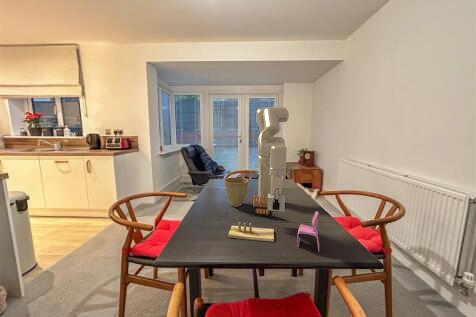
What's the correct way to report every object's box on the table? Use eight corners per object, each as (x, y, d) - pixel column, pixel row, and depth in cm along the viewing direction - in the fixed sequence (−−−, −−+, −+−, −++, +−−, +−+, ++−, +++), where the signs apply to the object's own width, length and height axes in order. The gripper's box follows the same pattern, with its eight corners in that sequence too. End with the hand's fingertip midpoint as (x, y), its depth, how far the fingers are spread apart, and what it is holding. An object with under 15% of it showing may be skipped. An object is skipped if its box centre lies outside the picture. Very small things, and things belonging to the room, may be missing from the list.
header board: (231, 227, 101) (231, 217, 100) (273, 231, 98) (274, 220, 97) (228, 237, 92) (228, 226, 92) (273, 241, 89) (274, 230, 88)
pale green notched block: (267, 206, 106) (268, 193, 105) (283, 207, 105) (284, 195, 103) (267, 210, 101) (267, 197, 100) (284, 211, 100) (285, 198, 99)
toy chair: (298, 238, 92) (299, 206, 90) (319, 242, 89) (321, 209, 86) (296, 248, 84) (297, 213, 82) (319, 253, 81) (321, 217, 79)
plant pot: (238, 211, 121) (238, 184, 119) (219, 205, 130) (219, 180, 127) (252, 203, 133) (253, 179, 130) (234, 198, 142) (234, 176, 139)
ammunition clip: (252, 214, 116) (253, 194, 115) (253, 213, 118) (253, 193, 116) (272, 216, 114) (272, 195, 112) (272, 215, 116) (272, 194, 114)
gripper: (269, 166, 108) (268, 199, 112) (269, 175, 92) (267, 214, 95) (284, 167, 107) (282, 200, 110) (286, 176, 90) (284, 215, 94)
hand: (275, 206), depth 103 cm, fingers closed on pale green notched block, 4 cm apart
